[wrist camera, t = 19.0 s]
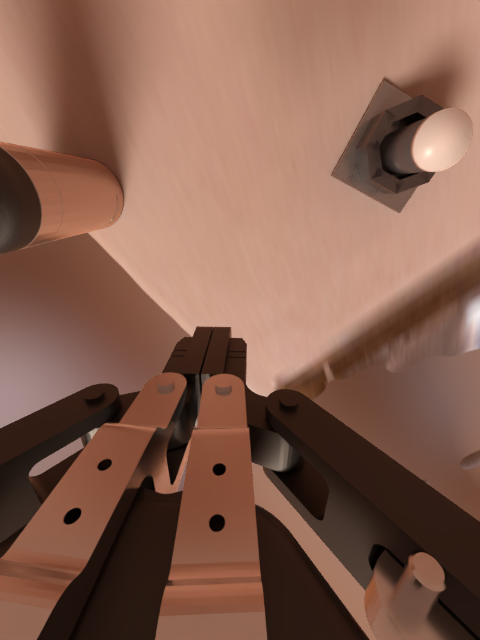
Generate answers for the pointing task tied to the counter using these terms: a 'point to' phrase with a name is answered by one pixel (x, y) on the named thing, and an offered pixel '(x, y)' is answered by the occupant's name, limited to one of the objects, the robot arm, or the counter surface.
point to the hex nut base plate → (364, 154)
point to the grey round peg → (427, 143)
